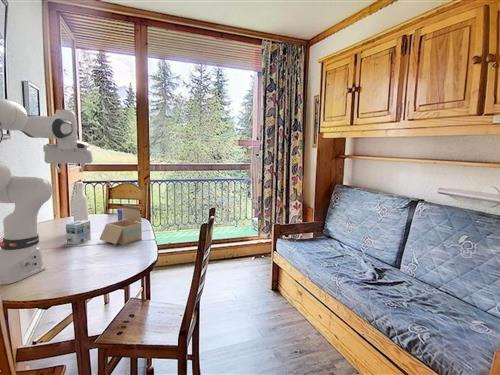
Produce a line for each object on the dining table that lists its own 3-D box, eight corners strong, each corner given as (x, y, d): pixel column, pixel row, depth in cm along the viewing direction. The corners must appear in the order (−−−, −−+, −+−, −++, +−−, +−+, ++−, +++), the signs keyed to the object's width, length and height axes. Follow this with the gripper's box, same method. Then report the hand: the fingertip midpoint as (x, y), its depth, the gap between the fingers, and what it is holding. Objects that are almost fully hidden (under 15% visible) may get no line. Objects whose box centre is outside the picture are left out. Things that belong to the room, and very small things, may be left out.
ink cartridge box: (130, 224, 205) (130, 203, 203) (136, 225, 202) (135, 204, 200) (117, 227, 196) (116, 205, 194) (122, 229, 193) (122, 206, 191)
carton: (116, 246, 160) (115, 229, 159) (99, 242, 167) (98, 225, 166) (141, 239, 174) (141, 222, 173) (125, 234, 181) (124, 219, 180)
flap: (138, 207, 171) (138, 207, 171) (122, 204, 177) (123, 204, 177) (141, 222, 173) (141, 222, 174) (125, 219, 180) (126, 218, 180)
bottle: (72, 231, 185) (69, 181, 181) (86, 229, 191) (84, 181, 187) (76, 234, 180) (74, 183, 176) (91, 231, 186) (89, 182, 182)
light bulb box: (77, 245, 161) (76, 225, 160) (66, 243, 162) (65, 224, 161) (91, 239, 172) (90, 220, 170) (80, 238, 173) (80, 219, 171)
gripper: (40, 144, 141) (43, 173, 145) (90, 145, 148) (92, 173, 151) (44, 142, 147) (47, 171, 150) (92, 143, 154) (94, 170, 157)
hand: (70, 172), depth 151 cm, fingers open, 8 cm apart
